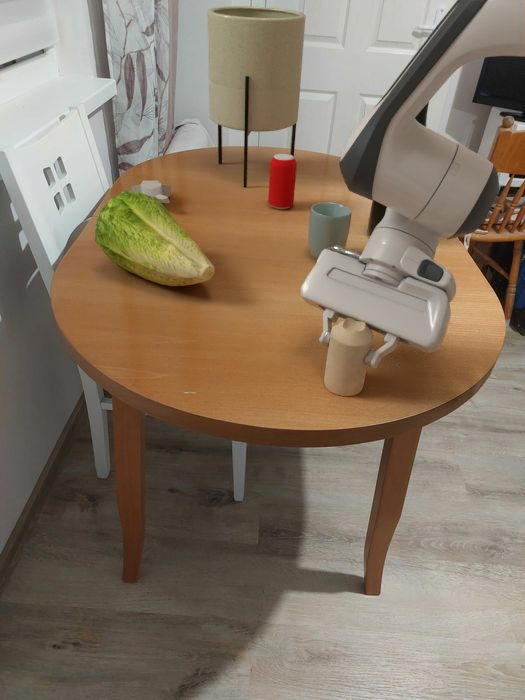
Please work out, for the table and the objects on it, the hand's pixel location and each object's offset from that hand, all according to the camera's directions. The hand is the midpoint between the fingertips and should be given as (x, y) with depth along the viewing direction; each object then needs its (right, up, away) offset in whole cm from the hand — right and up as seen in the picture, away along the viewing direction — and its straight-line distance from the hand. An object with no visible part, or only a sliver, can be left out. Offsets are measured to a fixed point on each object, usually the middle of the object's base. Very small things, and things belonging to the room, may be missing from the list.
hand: (346, 355), depth 69 cm
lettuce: (-29, +14, +26) cm, 41 cm away
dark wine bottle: (+17, +26, +47) cm, 56 cm away
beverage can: (-7, +36, +58) cm, 69 cm away
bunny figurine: (-38, +36, +56) cm, 76 cm away
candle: (0, -4, +4) cm, 6 cm away
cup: (+2, +19, +37) cm, 41 cm away
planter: (-14, +50, +77) cm, 93 cm away
